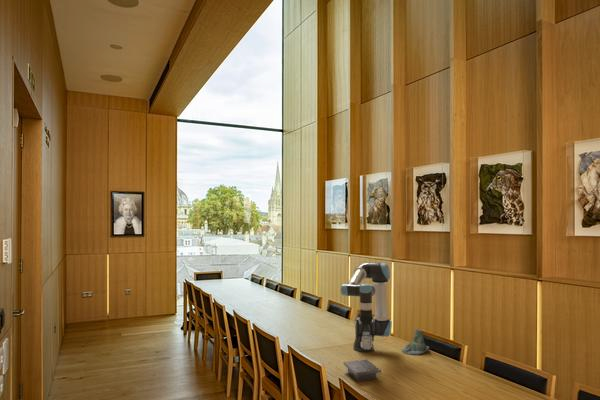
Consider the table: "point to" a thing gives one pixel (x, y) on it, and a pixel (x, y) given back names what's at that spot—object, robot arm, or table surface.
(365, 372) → the display plinth
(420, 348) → the tree stump
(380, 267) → the robot arm
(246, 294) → the table surface
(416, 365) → the table surface
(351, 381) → the table surface
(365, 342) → the medicine box
